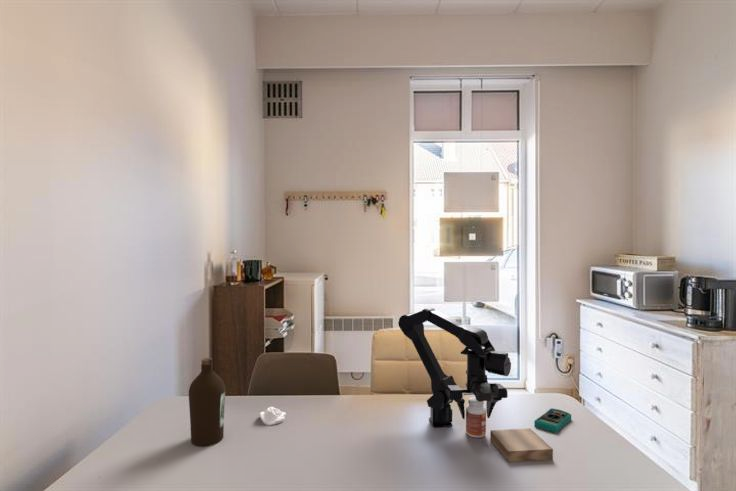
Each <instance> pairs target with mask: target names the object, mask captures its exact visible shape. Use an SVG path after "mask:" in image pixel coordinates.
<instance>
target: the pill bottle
mask: <svg viewBox="0 0 736 491" xmlns="http://www.w3.org/2000/svg"><path fill="white" fill-rule="evenodd" d="M484 404H485V401H482V402H479V401H477V400H476V397H475V396H471V397H469V398H468V404H467V406H466V407H465V432H466V434H467V435H468V436H469V437H471V438H484V437H485V436H486V435H487V434H486V433H487V412H486V407H485V406H484Z"/></svg>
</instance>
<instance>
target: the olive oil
mask: <svg viewBox="0 0 736 491" xmlns="http://www.w3.org/2000/svg"><path fill="white" fill-rule="evenodd" d="M200 366H201V367H200V368H201V369H200V370H201V371H200V373H199V374H198V375H197V376H196V377H195V378H194V379H193V380H192V381H191V383H190V384H189V385H190V386H189V388H188V406H189V420H190V442H191V444H192V445H193V446H195V447H209V446H212V445H216V444H218V443H220V442H222V440H223V439H224V431H225V430H224V429H225V405H226V385H225V383H224V379H222V378H221V377H220V375H219V374H217V373H216V372H215V371H214V370H213V369H214V364H213V358H212V357H205V358H202V359H201V364H200Z"/></svg>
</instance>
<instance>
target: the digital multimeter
mask: <svg viewBox="0 0 736 491" xmlns="http://www.w3.org/2000/svg"><path fill="white" fill-rule="evenodd" d="M570 420H571V421H572V414H571V413H570V412H567V411H565V410H562V409H557V408H550V409H548V410H547V411H546V412H545V413H543V414H542V415H541V416H539V417H538V418H536V419H534V427H535V428H537V427H538V429H540V428H541V429H540V430H543V429H544V431H546V430H547V432H550V431H551V433H553V434H557V433H558V432H559V431H560V430H561V429H563V427H564V426H566V424H568V423H569V422H571V421H570Z"/></svg>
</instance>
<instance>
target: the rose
mask: <svg viewBox="0 0 736 491" xmlns="http://www.w3.org/2000/svg"><path fill="white" fill-rule="evenodd" d="M286 414H287V412H285V411H281V409H279V408H276V407H274V406H269V407H267V409H265V410H264V411H261V412H259V416H260V420H261V421H262V422H263V424H264V425H266V426H273V425H277V424H280V423H283V422H284V421H285V419H286Z"/></svg>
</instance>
